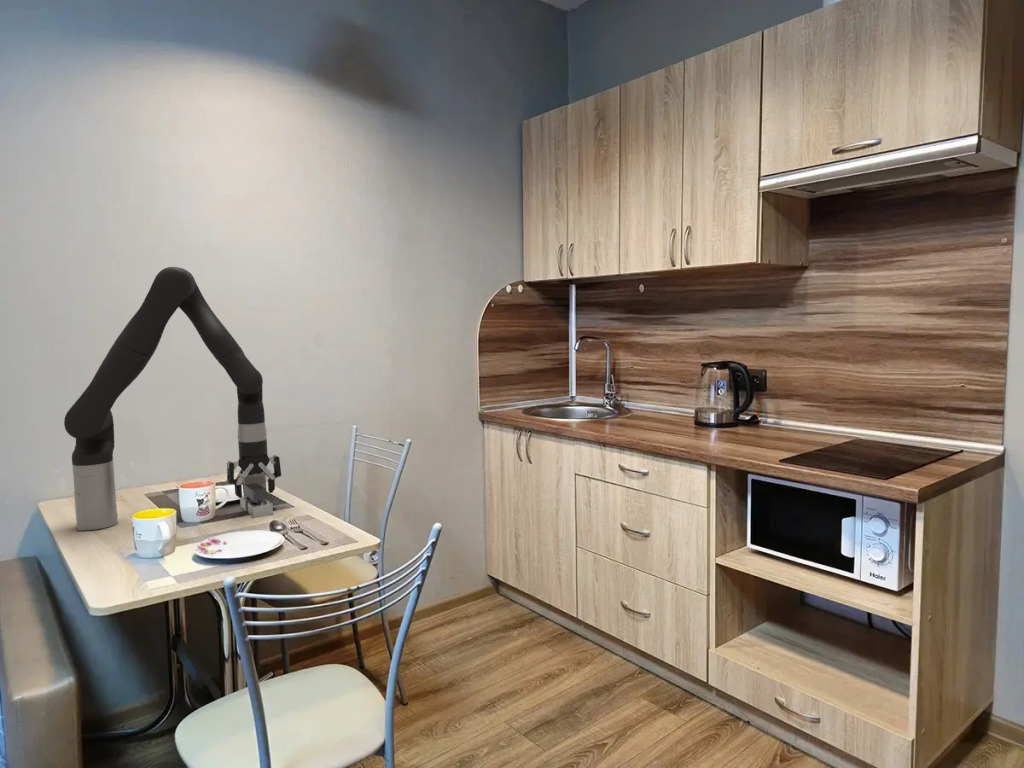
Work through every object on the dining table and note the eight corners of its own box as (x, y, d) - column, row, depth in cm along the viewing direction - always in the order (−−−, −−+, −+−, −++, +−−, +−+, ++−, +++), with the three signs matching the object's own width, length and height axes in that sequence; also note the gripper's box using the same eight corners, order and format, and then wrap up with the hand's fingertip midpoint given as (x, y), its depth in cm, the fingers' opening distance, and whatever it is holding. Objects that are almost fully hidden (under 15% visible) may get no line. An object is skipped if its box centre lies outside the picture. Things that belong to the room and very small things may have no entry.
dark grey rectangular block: (254, 515, 187) (253, 490, 186) (245, 508, 194) (243, 484, 193) (267, 513, 189) (266, 488, 188) (257, 506, 196) (256, 482, 195)
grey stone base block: (253, 517, 185) (253, 504, 184) (240, 507, 195) (239, 495, 195) (273, 514, 188) (272, 501, 187) (259, 504, 198) (258, 492, 198)
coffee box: (242, 496, 207) (239, 445, 206) (264, 494, 210) (262, 443, 208) (244, 503, 199) (241, 450, 197) (267, 501, 202) (264, 448, 200)
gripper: (229, 443, 182) (232, 502, 184) (282, 437, 191) (285, 493, 192) (222, 439, 188) (225, 496, 190) (273, 433, 197) (276, 488, 198)
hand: (255, 494), depth 191 cm, fingers open, 8 cm apart
